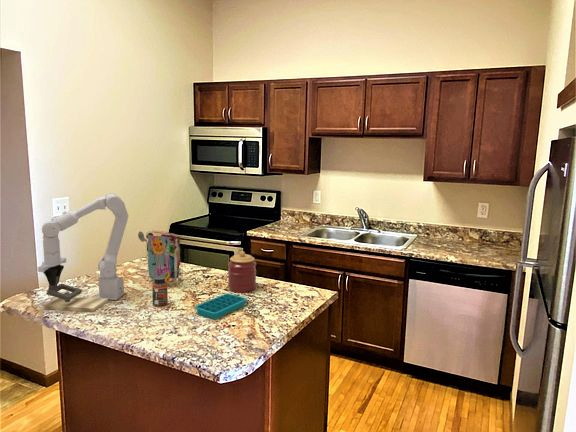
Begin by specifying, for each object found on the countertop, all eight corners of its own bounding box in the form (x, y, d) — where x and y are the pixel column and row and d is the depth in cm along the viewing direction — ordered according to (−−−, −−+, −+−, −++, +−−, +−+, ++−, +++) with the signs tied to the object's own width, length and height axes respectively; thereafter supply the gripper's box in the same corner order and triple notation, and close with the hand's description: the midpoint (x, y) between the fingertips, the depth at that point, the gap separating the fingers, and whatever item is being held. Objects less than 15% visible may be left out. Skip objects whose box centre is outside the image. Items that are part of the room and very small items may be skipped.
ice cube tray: (192, 314, 164) (192, 307, 163) (227, 299, 181) (227, 292, 180) (215, 321, 158) (214, 314, 157) (248, 305, 174) (248, 298, 174)
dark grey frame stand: (81, 293, 173) (84, 279, 172) (68, 300, 164) (70, 286, 163) (56, 285, 174) (59, 272, 173) (41, 292, 165) (44, 278, 164)
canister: (254, 293, 188) (255, 255, 185) (225, 292, 188) (225, 254, 185) (257, 284, 201) (257, 248, 198) (230, 283, 201) (230, 247, 198)
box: (134, 279, 203) (132, 230, 199) (144, 276, 209) (142, 228, 205) (173, 288, 192) (172, 236, 188) (182, 284, 197) (182, 234, 193)
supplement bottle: (158, 308, 168) (157, 281, 167) (149, 304, 172) (148, 277, 170) (170, 304, 173) (170, 277, 171) (161, 300, 177) (161, 274, 175)
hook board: (107, 301, 174) (107, 290, 173) (93, 312, 163) (92, 299, 162) (62, 299, 175) (61, 287, 175) (44, 309, 165) (43, 296, 164)
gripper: (54, 246, 174) (56, 278, 176) (29, 255, 160) (32, 289, 162) (70, 247, 173) (72, 279, 176) (47, 256, 159) (49, 290, 161)
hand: (54, 284), depth 169 cm, fingers closed on dark grey frame stand
